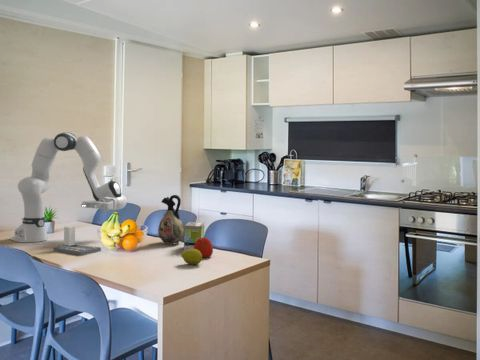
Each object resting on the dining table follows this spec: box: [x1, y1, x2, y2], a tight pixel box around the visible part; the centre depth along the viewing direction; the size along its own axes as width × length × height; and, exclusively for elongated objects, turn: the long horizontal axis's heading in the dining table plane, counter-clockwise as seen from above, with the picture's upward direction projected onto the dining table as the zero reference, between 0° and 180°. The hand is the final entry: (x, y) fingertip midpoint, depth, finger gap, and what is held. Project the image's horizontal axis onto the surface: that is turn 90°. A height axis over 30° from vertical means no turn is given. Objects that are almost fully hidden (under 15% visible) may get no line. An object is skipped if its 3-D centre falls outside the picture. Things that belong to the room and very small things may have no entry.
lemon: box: [180, 249, 203, 266], centre depth 223 cm, size 11×8×8 cm
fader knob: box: [61, 225, 77, 247], centre depth 251 cm, size 6×5×10 cm
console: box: [52, 243, 102, 257], centre depth 249 cm, size 21×14×3 cm, turn 62°
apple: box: [194, 237, 214, 258], centre depth 241 cm, size 10×10×10 cm
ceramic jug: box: [157, 194, 185, 245], centre depth 275 cm, size 17×15×30 cm
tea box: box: [183, 221, 205, 252], centre depth 261 cm, size 15×10×15 cm, turn 179°
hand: (87, 206), depth 262 cm, fingers open, 8 cm apart
